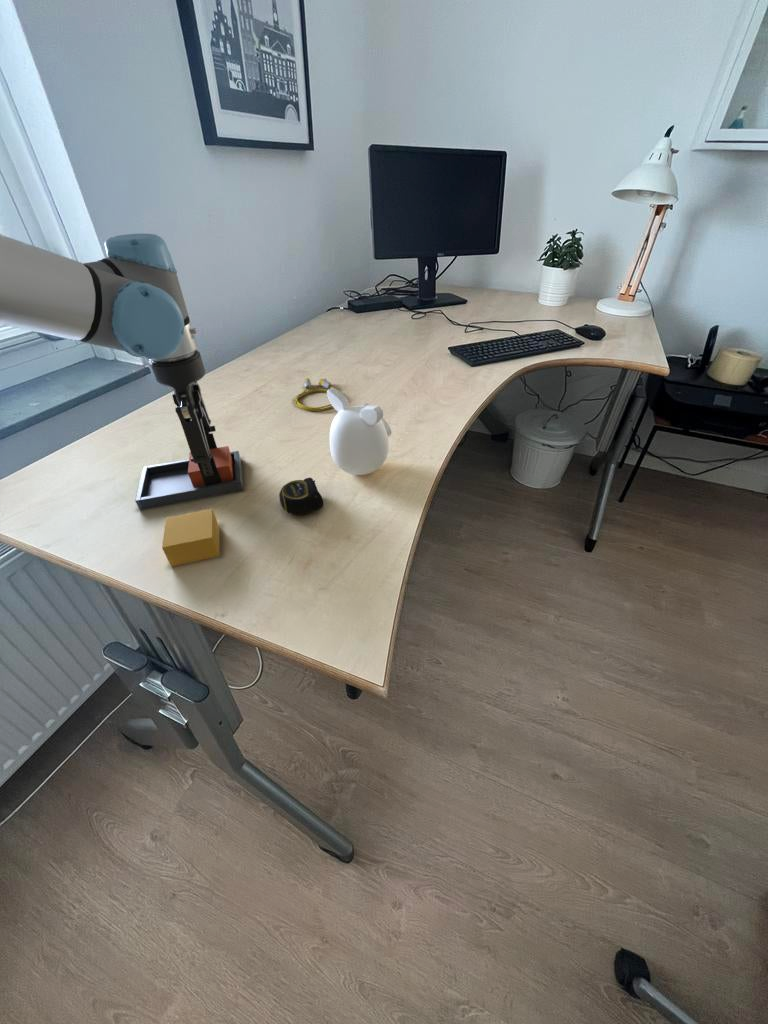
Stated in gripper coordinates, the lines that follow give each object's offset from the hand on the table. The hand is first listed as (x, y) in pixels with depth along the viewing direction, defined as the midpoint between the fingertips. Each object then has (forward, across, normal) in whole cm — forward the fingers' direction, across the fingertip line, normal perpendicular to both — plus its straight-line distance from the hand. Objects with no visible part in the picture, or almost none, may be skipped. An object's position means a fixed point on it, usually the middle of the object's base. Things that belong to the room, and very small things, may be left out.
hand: (214, 475), depth 81 cm
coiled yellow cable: (+1, +28, -25) cm, 38 cm away
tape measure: (+1, -13, -15) cm, 20 cm away
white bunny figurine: (+1, -5, -27) cm, 27 cm away
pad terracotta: (0, 0, 0) cm, 0 cm away
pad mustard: (+1, -18, +3) cm, 18 cm away
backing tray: (+1, 0, +4) cm, 4 cm away
